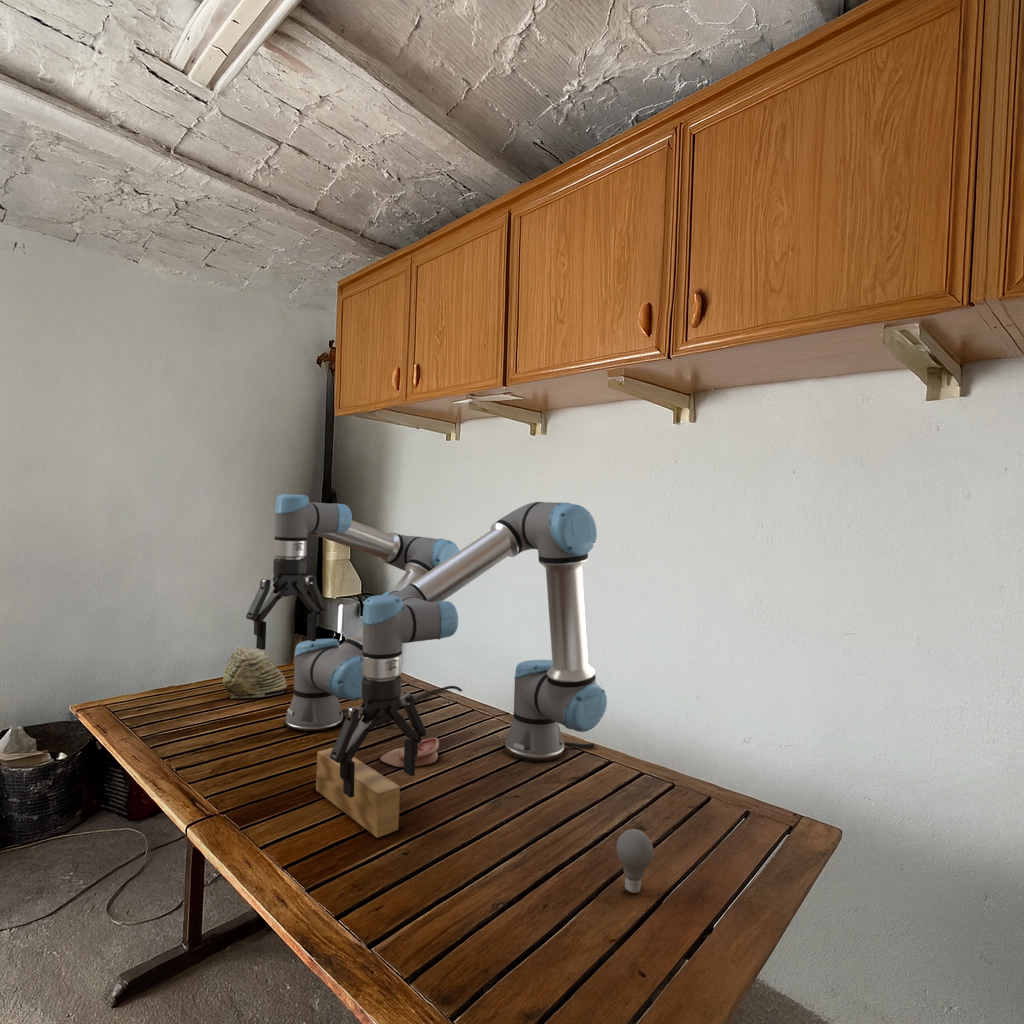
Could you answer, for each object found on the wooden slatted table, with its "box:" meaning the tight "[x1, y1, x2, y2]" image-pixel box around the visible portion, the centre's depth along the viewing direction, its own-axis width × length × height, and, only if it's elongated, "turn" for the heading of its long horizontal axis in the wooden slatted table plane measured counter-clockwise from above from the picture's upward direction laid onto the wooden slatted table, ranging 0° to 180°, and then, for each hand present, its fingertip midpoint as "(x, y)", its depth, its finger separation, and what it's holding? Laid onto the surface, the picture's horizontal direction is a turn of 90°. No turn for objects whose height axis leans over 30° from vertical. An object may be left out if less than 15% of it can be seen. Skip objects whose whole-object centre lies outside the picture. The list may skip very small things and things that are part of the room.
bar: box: [315, 747, 401, 838], centre depth 129 cm, size 25×5×8 cm, turn 44°
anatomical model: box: [379, 737, 440, 768], centre depth 155 cm, size 13×4×12 cm
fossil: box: [222, 646, 288, 699], centre depth 198 cm, size 9×18×15 cm, turn 132°
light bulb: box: [615, 828, 654, 894], centre depth 106 cm, size 6×6×10 cm
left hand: (286, 644), depth 154 cm, fingers open, 13 cm apart
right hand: (380, 783), depth 124 cm, fingers open, 13 cm apart
